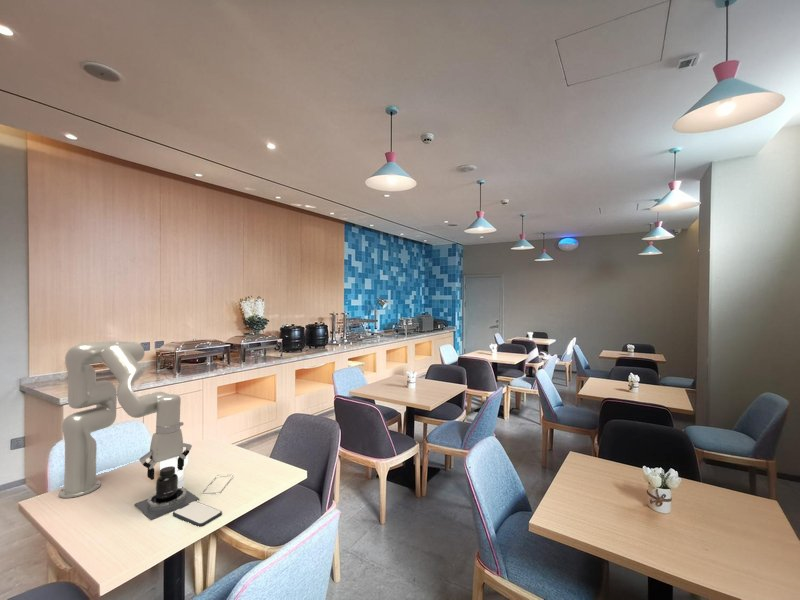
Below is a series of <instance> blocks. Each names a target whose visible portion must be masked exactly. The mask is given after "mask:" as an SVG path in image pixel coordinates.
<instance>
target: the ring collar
mask: <svg viewBox="0 0 800 600" xmlns="http://www.w3.org/2000/svg"><path fill="white" fill-rule="evenodd" d="M197 500H199V501H200V497H198V496H196V495H195V494H194V493H192V492H190V491H189V490H188V489H186V488H184V487H183V486H182V488H177V499H174V500H172V501H169V502H164V503H156V492H155V493H154V494H152V495H150V496H149V497H148V498H146V499H143V500H141V501H138V502H136V503H134V507H135V508H136V509H138V510H139V511H140V512H141V513H142V514H143V515H144V516H145V517H146V518H147V519H149V521H153V520H155V519H159V518H160V517H162V516H165V515H168V514H170V513H173V512H174V511H175V510H177V509H179V508H181V507H183V506H185V505H187V504H189V503H191V502H193V501H197ZM197 502H198V501H197Z"/></svg>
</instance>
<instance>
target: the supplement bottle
mask: <svg viewBox="0 0 800 600" xmlns="http://www.w3.org/2000/svg"><path fill="white" fill-rule="evenodd" d="M178 481H179V477H178V474H176V467H175V466H166V467H163V468H161V469H160V470H159V477H158V478H157V480H156V481H155V482H156V483H155V493H156V503H164V502H169V501H172V500H174V499H177V488H178V487H179V485H178V483H179V482H178Z"/></svg>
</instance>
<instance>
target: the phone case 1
mask: <svg viewBox="0 0 800 600" xmlns="http://www.w3.org/2000/svg"><path fill="white" fill-rule="evenodd" d="M222 515H223V512H222V510H220V509H217V508H215V507H212V506H209V505H207V504H205V503H202V502H199V501H193V502H191V503H189V504H187V505H185V506H183V507H181V508H179V509H177V510H175V511H172V517H174V518H176V519H178V520H181V521H183V520H184V522H185V523H188V522H189V524H190V523H191V525H193V526H195V525H196V526H195V527H198V526H199V527H198V528H200V527H204V526H206V525H208V524H210V523H211V522H213V521H214V520H216V519H217V518H219V517H221V516H222Z"/></svg>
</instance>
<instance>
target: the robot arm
mask: <svg viewBox="0 0 800 600" xmlns="http://www.w3.org/2000/svg"><path fill="white" fill-rule="evenodd" d="M144 357H145V350H144V347H143V346H142V344H140V343H138V342H135V341H122V340H111V341H100V342H96V341H95V342H88V343H80V344H77V345H74V346H72V347H70V348H69V349H68V350H67V352H66V354H65V358H64V360H65V361H64V363H65V368H66V370H67V376H68V377H67V378H68V379H67V402H68V406H69V407H70V408H71V409H74V410H75V409H76V410H77V409H84V408H88V407H93V406H95V407H93V408H88V409H85V410H80V411H77V412H73V413H72V414H69V415H68V416H66V417H65V418H64V419H63V421H62V423H61V429H62V433H63V434H62V435H63V438H64V439H63V441H64V475H63V477H64V482H63V483H64V484H63V488H62V489H60V490H59V491H58V497H60V498H64V499H69V498H76V497H80V496H84V495H87V494H89V493H92V492H94V491H95V490H98V489H99V488H100V487H101V484H102V483H101V482H102V481H101V480H98V479H97V451H98V450H97V441H96V439H95V438H94V437H93V436H92V435H91V433H94V432H98V431H100V430H104V429H106V428H109V427H110V426H112V425H113V424H114V423H115V422H116V418H117V402H118V404H119V405H120V407H121V408H122V410H123V411H124V412H125V413H126V415H128V416H130V417H131V418H134V419H135V418H136V419H137V418H142V417H145V416H149V415H152V414H155V413H156V419H155V420H156V424H155V432H154V433H153V434H152V437H151V440H150V446H149V447H150V448H149V451H148V452H147V453H145V454H144V455H143V456H141V457H140V458H139V462H140V464H141V465H142V466H143V467H145V468H147V474H146V475H147V478H149V479H150V480H151V481H153V480H155V468H154V467H155V466H156V464H158V463H160V462H164V461H167V460H170V459H174V458H177V469H178V470H179V471H183V470H184V466H185V459H186V457H187V455H189V454H190V451H191V449H192V447H193V445H192V444H190V443H187V442H186V443H185V442H184V440H183V439H184V438H183V431H182V429H181V427H182V426H184V422H183V421H180V420H181V399H182V398H181V396H180V395H179V394H174V393H173V394H170V393H167V392H164V391H156V392H153V393H147V394H144V395H139V396H138V395H137V393H136V392H135V391H134V389H133V388H132V384H134V383H135V382H136V381H138V380H139V379H140V378H141V377H142V376H143V375H144V368H143V367H142V366H141V365H140V364H139V362H140V361H142V360H143V358H144ZM100 363H104V364H105V365H106V367H107V368H108V370H109V371H110V372H111V374H112V375H113V376H114V377H115V379H116V380H117V381H118V382H119V383H118V385H117V388H116V386H115V384H114V382H112V381H111V380H105V379H103V380H98V381H97V372H96V369H95V367H93V366H92V365H93V364H100ZM184 448H185V450H184ZM147 459H149V461H148V462H147Z"/></svg>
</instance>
